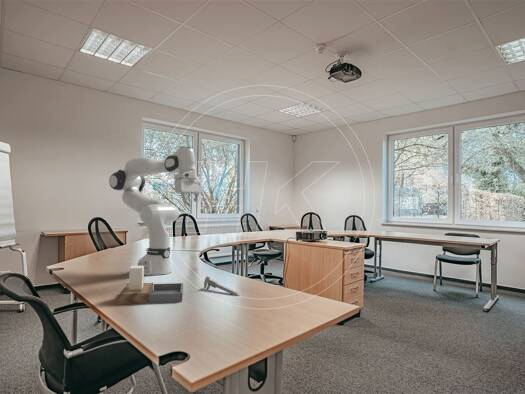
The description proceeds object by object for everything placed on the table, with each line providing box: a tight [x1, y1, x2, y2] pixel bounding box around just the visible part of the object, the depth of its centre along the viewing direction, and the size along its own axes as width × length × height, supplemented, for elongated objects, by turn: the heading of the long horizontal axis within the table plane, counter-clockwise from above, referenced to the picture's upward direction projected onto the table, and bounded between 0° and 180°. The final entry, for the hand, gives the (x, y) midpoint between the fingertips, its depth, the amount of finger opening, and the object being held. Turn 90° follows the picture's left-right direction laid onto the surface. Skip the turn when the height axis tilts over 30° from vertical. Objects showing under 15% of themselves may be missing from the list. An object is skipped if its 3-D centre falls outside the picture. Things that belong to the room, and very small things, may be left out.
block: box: [128, 265, 145, 290], centre depth 135 cm, size 5×5×9 cm
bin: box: [148, 282, 184, 304], centre depth 138 cm, size 13×16×4 cm
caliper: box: [203, 275, 240, 297], centre depth 147 cm, size 20×1×6 cm, turn 59°
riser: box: [118, 282, 154, 305], centre depth 135 cm, size 11×16×4 cm
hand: (190, 201), depth 170 cm, fingers open, 8 cm apart
